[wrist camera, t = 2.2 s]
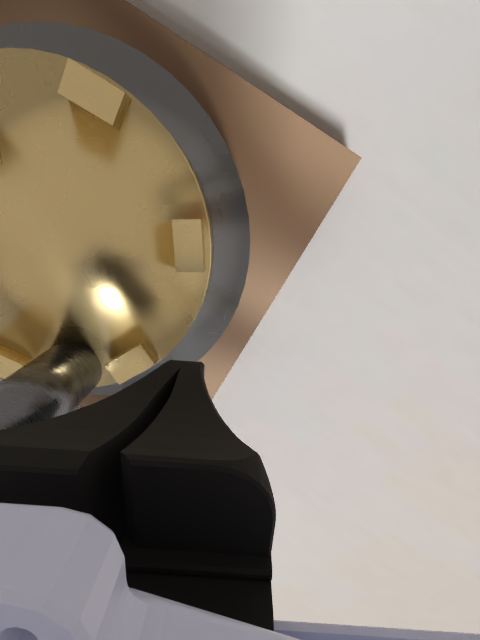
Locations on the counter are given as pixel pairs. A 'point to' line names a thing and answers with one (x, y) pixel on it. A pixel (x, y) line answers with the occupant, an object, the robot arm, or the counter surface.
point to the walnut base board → (245, 148)
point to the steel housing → (197, 143)
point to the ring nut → (89, 236)
